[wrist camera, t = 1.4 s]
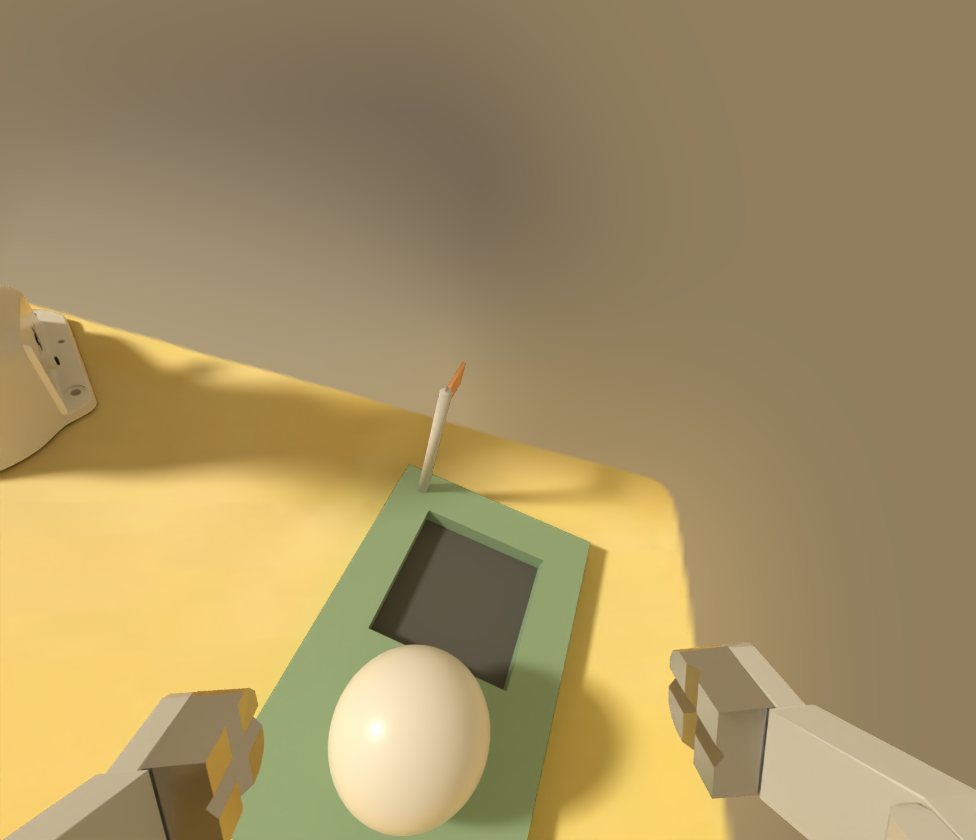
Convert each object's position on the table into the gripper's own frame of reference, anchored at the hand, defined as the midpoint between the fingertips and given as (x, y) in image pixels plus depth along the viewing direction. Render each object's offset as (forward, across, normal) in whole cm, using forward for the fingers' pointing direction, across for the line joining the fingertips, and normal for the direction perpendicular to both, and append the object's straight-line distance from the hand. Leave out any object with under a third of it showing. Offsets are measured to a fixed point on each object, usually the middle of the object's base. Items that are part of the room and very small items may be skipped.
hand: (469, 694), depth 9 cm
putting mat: (+28, +3, +20) cm, 35 cm away
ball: (+17, +4, +19) cm, 26 cm away
